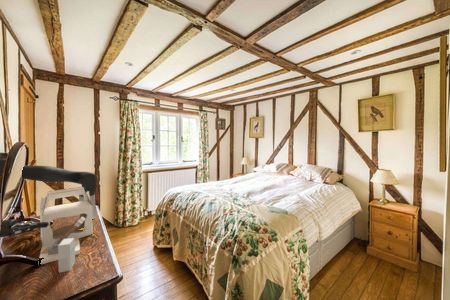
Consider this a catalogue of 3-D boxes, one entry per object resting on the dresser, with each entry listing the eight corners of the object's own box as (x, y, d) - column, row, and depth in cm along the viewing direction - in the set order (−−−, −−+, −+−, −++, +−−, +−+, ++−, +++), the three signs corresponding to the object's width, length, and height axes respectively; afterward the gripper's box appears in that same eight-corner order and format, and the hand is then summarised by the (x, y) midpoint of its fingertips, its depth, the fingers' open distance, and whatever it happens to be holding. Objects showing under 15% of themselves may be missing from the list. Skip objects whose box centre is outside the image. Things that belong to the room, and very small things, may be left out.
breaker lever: (60, 238, 101) (82, 216, 103) (64, 240, 101) (85, 219, 104) (54, 244, 95) (77, 220, 98) (58, 246, 96) (81, 223, 98)
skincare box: (63, 264, 89) (63, 238, 89) (75, 262, 91) (74, 237, 90) (58, 273, 84) (57, 245, 83) (70, 270, 85) (69, 243, 85)
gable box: (42, 248, 102) (41, 195, 100) (40, 239, 110) (38, 190, 109) (93, 234, 118) (92, 187, 116) (87, 227, 127) (86, 184, 125)
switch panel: (41, 250, 100) (41, 239, 99) (78, 241, 109) (78, 231, 109) (38, 265, 89) (38, 252, 88) (80, 253, 98) (79, 241, 98)
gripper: (-11, 227, 84) (39, 222, 90) (11, 215, 97) (54, 212, 103) (-10, 244, 85) (40, 238, 90) (11, 230, 97) (54, 226, 103)
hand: (47, 224), depth 96 cm, fingers closed
